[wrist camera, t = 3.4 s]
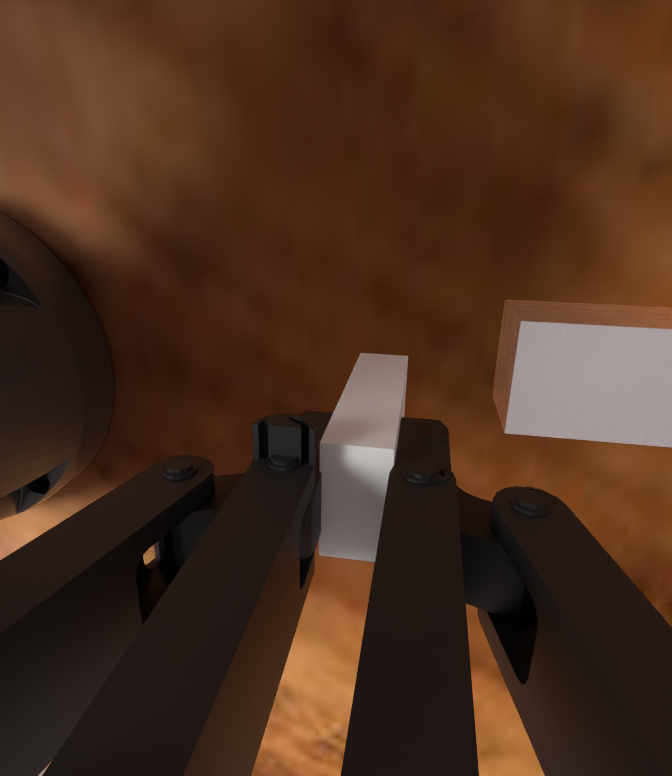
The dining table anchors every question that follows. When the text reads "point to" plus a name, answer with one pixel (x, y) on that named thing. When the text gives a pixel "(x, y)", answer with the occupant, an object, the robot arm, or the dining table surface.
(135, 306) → the dining table surface
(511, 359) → the banded white block
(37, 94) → the dining table surface
